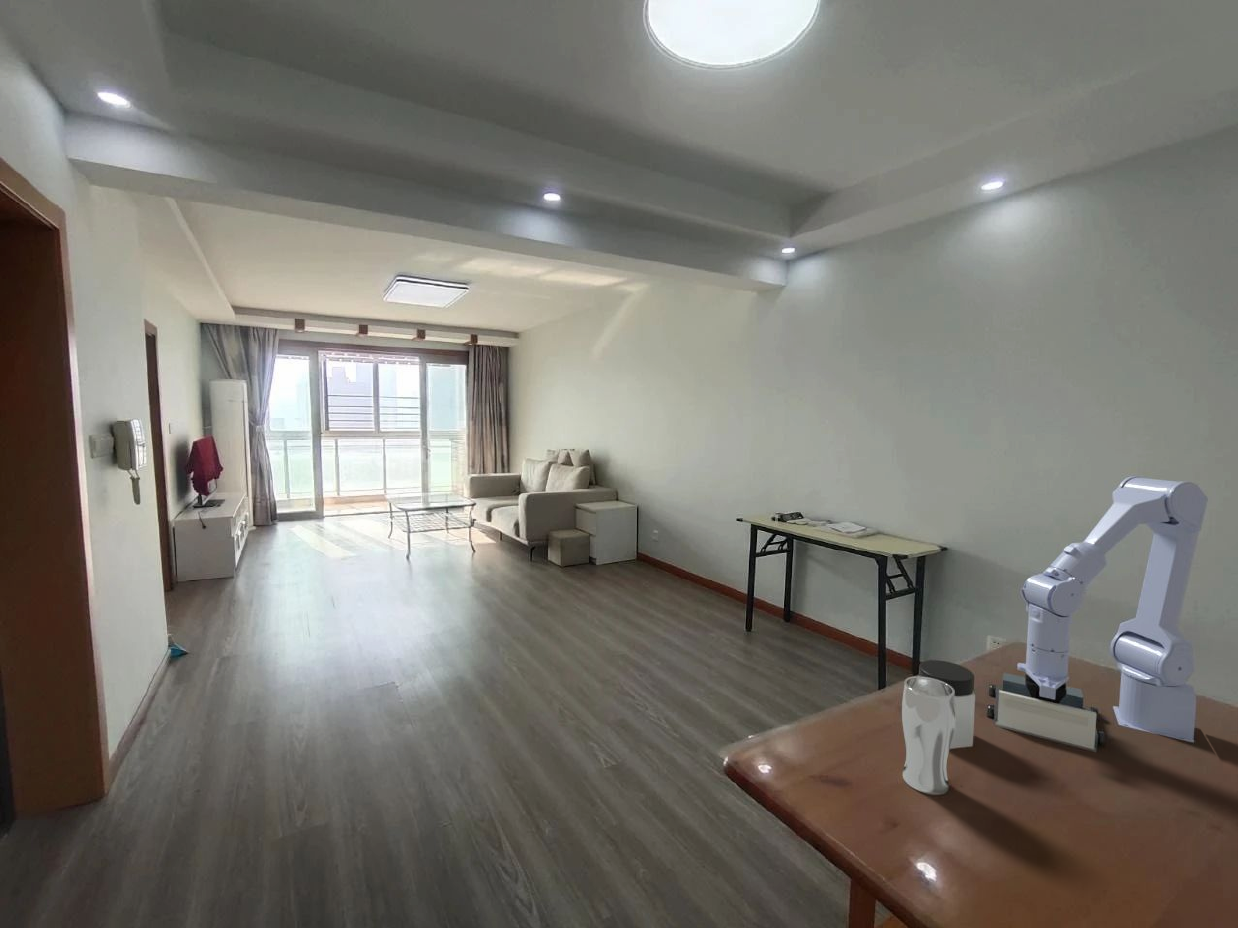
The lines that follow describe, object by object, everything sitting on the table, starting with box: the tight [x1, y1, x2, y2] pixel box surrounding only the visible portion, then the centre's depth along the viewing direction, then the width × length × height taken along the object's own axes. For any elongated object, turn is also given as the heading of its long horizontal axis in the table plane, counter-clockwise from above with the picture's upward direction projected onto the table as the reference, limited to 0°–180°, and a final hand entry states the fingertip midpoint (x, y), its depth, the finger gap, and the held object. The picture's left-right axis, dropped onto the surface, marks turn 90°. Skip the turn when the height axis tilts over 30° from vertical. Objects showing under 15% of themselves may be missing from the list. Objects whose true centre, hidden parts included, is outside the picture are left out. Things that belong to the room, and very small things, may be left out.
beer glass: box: [901, 675, 955, 796], centre depth 83 cm, size 7×7×15 cm
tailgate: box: [994, 689, 1097, 753], centre depth 94 cm, size 14×1×7 cm, turn 55°
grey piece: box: [986, 672, 1106, 750], centre depth 101 cm, size 16×16×4 cm
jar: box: [918, 659, 976, 750], centre depth 95 cm, size 9×8×12 cm
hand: (1043, 721), depth 97 cm, fingers closed
